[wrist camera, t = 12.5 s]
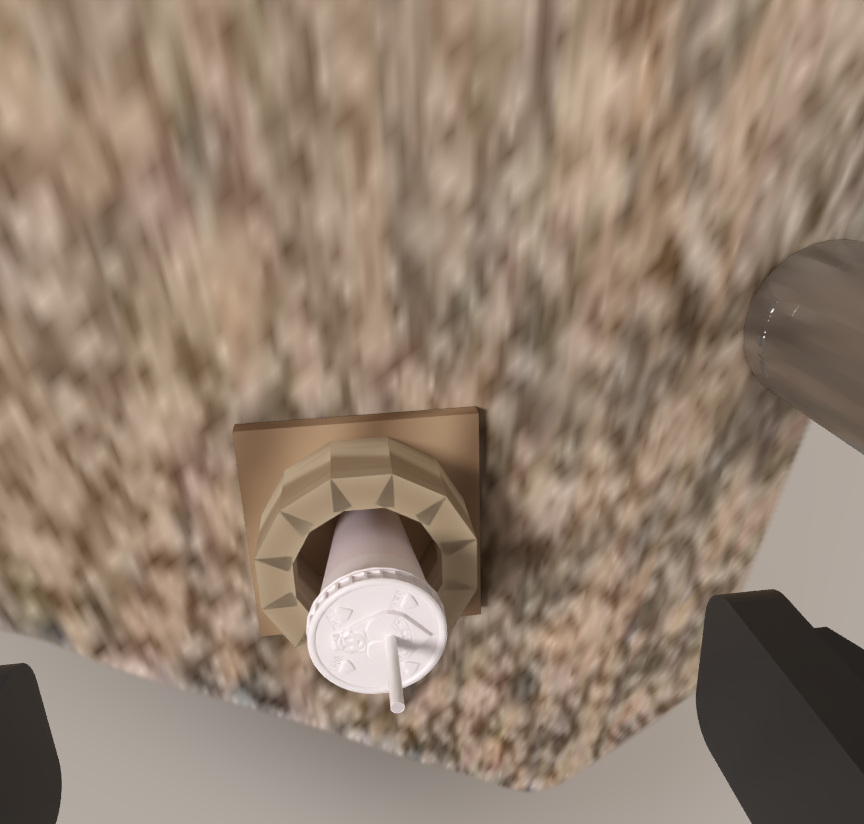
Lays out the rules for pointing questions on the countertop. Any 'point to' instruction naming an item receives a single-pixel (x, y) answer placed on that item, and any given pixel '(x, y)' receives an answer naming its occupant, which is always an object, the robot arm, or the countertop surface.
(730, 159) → the countertop surface
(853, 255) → the robot arm
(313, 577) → the bottle holder
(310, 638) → the smoothie
